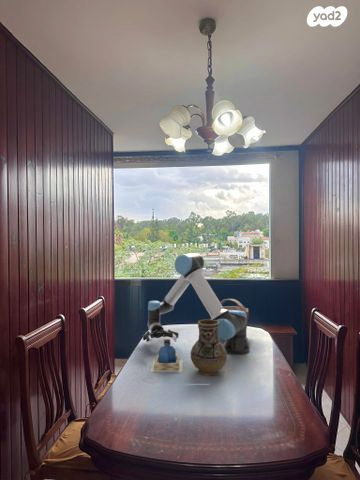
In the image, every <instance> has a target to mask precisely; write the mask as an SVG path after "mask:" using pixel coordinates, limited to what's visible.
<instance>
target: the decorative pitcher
mask: <svg viewBox="0 0 360 480" xmlns="http://www.w3.org/2000/svg"><path fill="white" fill-rule="evenodd" d="M218 325H219V321H217V320H211V318H207V319H200V320H198V321H197V328H198V339H197V341H196V342H195V343H194V345H193V346H192V348H191V350H190V361H191V362H192V364H193V366H194V367H195V368H196V369H197V370H198V373H199V374H201V375H205V376H215V375H217V374H219V371H220V370H222V369H223V367H224V366H225V364H226V362H227V359H228V352H226V350H225V348H224V344H222V343H223V342H221V340H220V341H219V339H218V327H219V326H218Z"/></svg>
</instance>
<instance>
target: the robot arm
mask: <svg viewBox="0 0 360 480" xmlns="http://www.w3.org/2000/svg"><path fill="white" fill-rule="evenodd" d="M204 267H205V260H204V257H203V255H201V254H200V253H197V252H191V253H183V254H180V255H178V256H177V257H176V259H175V261H174V269H175V272H176V273H177V274H179V275H180V276H179V277H178V279H177V280H176V281H175V283H174V285H173V286H172V287H171V289H170V290H169V292H167V294H166V295H165V297H164V298H163V300H162V301H159V300H150V301H148V305H147V319H148V320H147V324H146V325H147V329H148V330H147V331H146V333H144V334H143V335H142V341H146V343H148V342H149V343H150V344H149V345H152V344H153V343H152V342H153V339H154V338H155V339H160V338H162V337H163V338H166V337H167V338H172V340H173V341H174V342H175V343H176V342H177V339H178V338H179V332H176V331H174V330H171V329H167V330H165V329H164V327H163V326H162V324H161V315H164V314H166V313H169V312H171V311H174V308H175V304H176V303H177V301H178V300H179V298H181V296H182V295H183V294H184V292H185V291H186V289H187V288H188V287H189V285H190V284H191V286H192V287H193V289H194V291H195V293H196V294H197V296H198V298H199V299H200V301H201V303H202V304H203V306H204V307H205V310H206V311H207V312H208V314H209V316H210V319H211V320H217V321H219V325H218V326H219V327H218V338H219V339H220V340H221V341H224V340H225V341H224V343H223V346H224V348H225V350H226V353H227V354H233V355H244V354H247V353H249V352H250V350H251V349H250V344H249V341H248V338H247V329H246V323H247V317H246V313H245V312H244V311H237V310H226V309H224V308H223V304H221V303H220V302H221V301H220V300H219V298H218V297H217V295H216V293H215V292H214V290H213V288H212V287H211V285H210V284H209V282H208V280H207V279H206V277H205V276H204V274H203V269H204Z"/></svg>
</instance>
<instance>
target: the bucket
mask: <svg viewBox="0 0 360 480" xmlns="http://www.w3.org/2000/svg"><path fill="white" fill-rule="evenodd" d="M226 301H231V302H233V303H235V304H236V305H235V306H234V305H231V306H229V305H228V306H223V304H225V302H226ZM220 303H221V305H222V306H223V308H224V309H226V310H237V311H244V312H245V313H246V317H247V323H246V330H247V329H248V323H249V318H250V312H249V308H247V307H245V306H244V305H243V304H242V303H241V302H240V301H238V300H237V299H235V298H226V299H225V298H224V299H222V300H221V301H220ZM223 341H224V342H225V340H223Z"/></svg>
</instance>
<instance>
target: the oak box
mask: <svg viewBox="0 0 360 480" xmlns="http://www.w3.org/2000/svg"><path fill="white" fill-rule="evenodd" d="M154 360H155V362H154V370H179V360H180V355H176V363H159V354H158V355H156V356H155V358H154Z"/></svg>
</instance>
